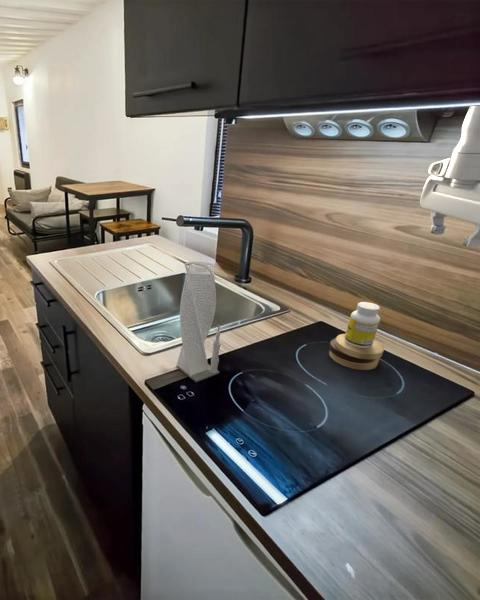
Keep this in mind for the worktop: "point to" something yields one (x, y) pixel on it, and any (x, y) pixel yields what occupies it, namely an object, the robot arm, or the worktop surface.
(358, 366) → the coaster pile
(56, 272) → the worktop surface
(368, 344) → the supplement bottle
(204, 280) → the skyscraper
